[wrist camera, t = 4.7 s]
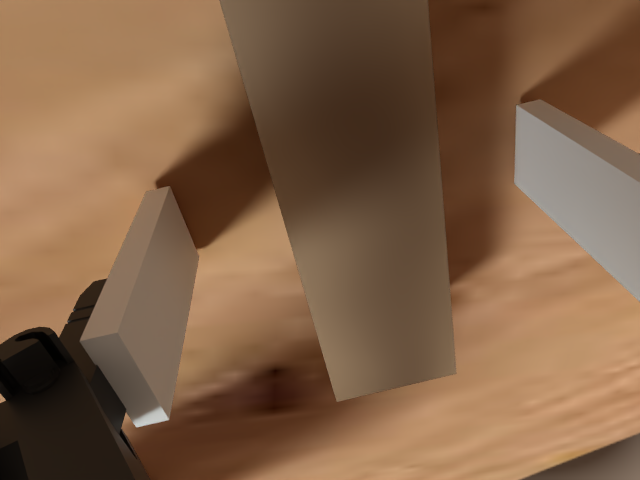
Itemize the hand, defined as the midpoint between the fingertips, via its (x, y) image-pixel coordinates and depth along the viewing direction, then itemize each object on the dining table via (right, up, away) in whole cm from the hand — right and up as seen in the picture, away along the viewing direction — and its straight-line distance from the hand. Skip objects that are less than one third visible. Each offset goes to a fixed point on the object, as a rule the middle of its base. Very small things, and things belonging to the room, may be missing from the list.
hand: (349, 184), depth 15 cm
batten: (-1, +4, -2) cm, 5 cm away
